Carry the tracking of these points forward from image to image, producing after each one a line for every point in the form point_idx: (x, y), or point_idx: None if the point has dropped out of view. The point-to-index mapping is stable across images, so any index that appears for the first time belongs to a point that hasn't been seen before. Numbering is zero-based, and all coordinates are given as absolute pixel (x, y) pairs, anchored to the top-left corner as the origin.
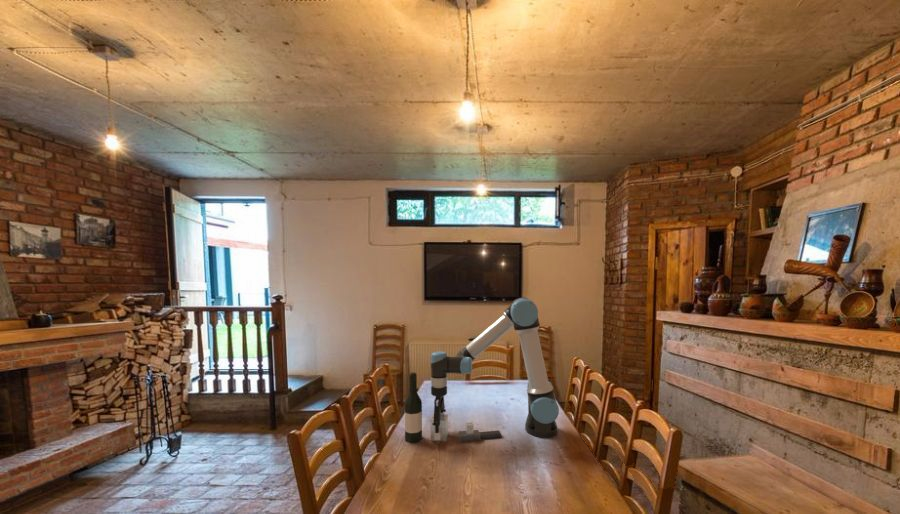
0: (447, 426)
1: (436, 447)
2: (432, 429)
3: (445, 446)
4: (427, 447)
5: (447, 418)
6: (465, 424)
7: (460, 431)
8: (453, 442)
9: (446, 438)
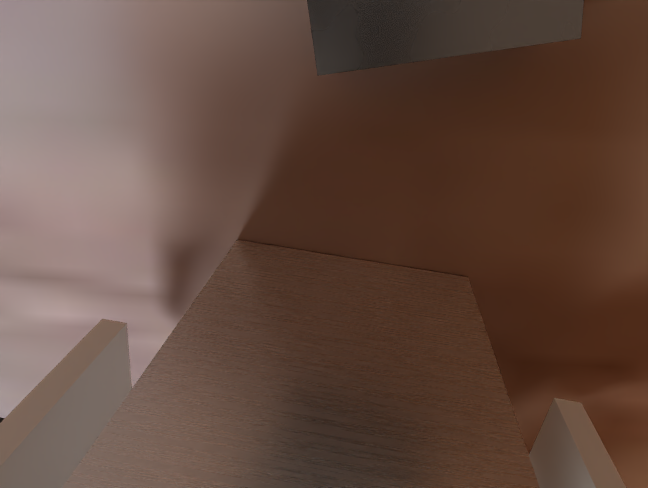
0: (285, 341)
1: (608, 399)
2: None
3: (617, 295)
4: None
5: (219, 475)
6: None
7: (323, 40)
8: (518, 175)
9: (453, 291)
